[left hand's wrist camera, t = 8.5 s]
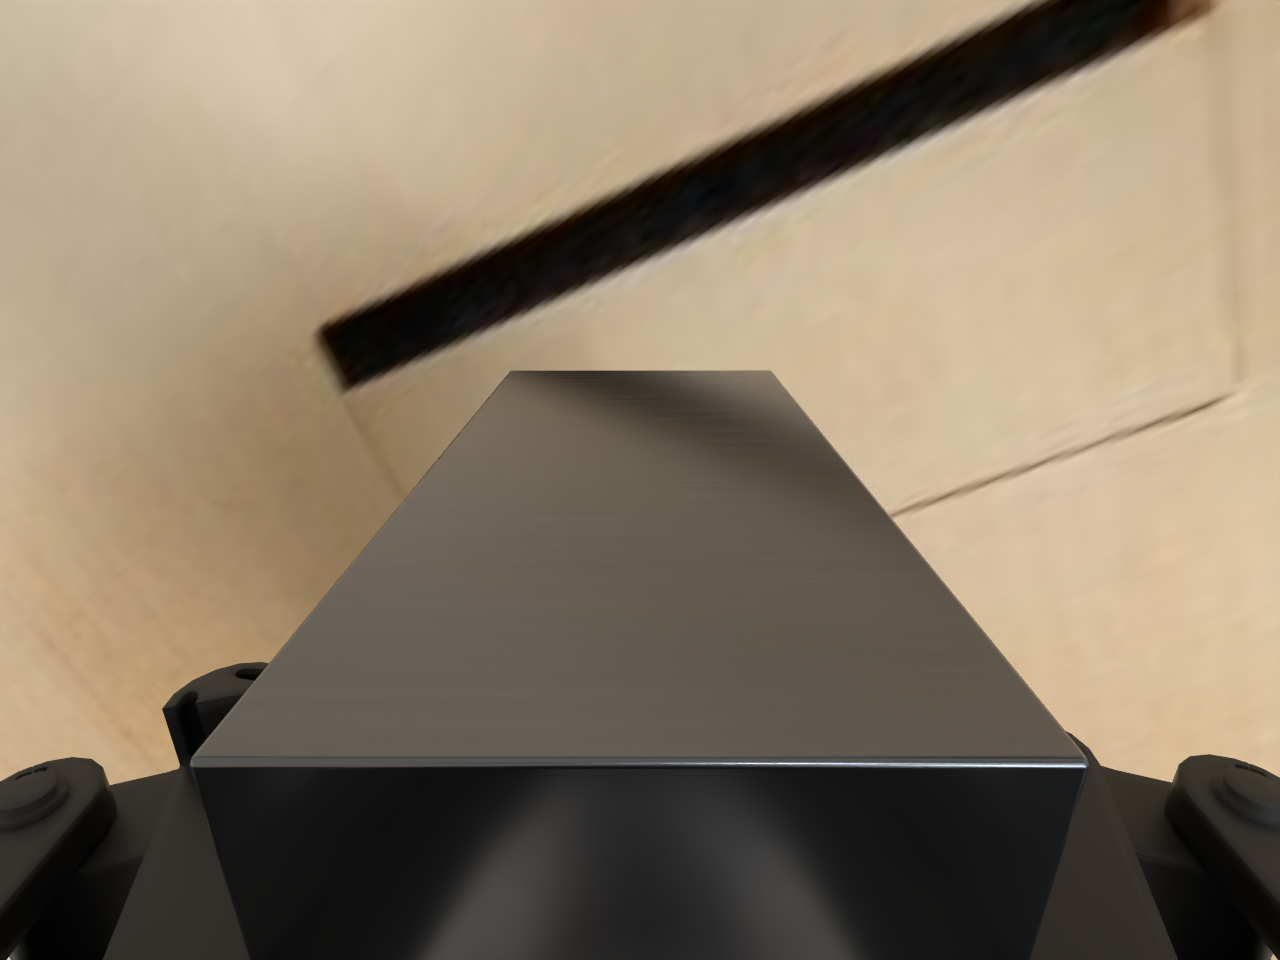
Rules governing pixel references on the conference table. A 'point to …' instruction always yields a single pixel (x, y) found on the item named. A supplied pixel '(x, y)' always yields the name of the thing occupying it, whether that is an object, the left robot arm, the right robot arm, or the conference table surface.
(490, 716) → the box
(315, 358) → the conference table surface
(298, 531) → the conference table surface
